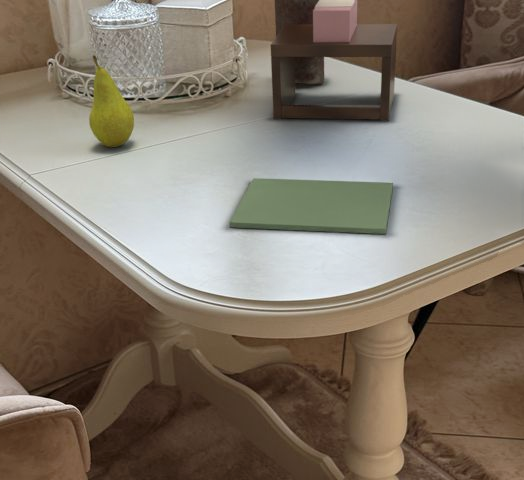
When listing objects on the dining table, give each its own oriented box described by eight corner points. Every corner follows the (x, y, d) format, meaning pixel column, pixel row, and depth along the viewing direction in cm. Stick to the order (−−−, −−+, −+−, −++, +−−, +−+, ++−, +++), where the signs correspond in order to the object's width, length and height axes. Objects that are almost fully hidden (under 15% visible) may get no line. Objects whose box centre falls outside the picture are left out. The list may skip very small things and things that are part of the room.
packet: (357, 25, 112) (357, -6, 110) (349, 42, 104) (350, 9, 102) (322, 25, 113) (322, -5, 111) (312, 42, 105) (312, 9, 103)
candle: (290, 92, 121) (286, -54, 110) (268, 81, 126) (262, -58, 115) (333, 83, 124) (333, -59, 112) (309, 73, 129) (307, -64, 118)
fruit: (133, 135, 107) (120, 43, 101) (140, 149, 103) (127, 54, 96) (91, 141, 106) (75, 48, 100) (96, 156, 102) (80, 59, 95)
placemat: (392, 187, 89) (393, 182, 88) (385, 234, 79) (385, 228, 79) (253, 182, 92) (253, 178, 91) (230, 227, 82) (229, 222, 82)
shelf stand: (394, 95, 117) (397, 23, 112) (388, 121, 108) (391, 44, 102) (287, 93, 120) (285, 24, 115) (273, 119, 111) (270, 44, 105)
